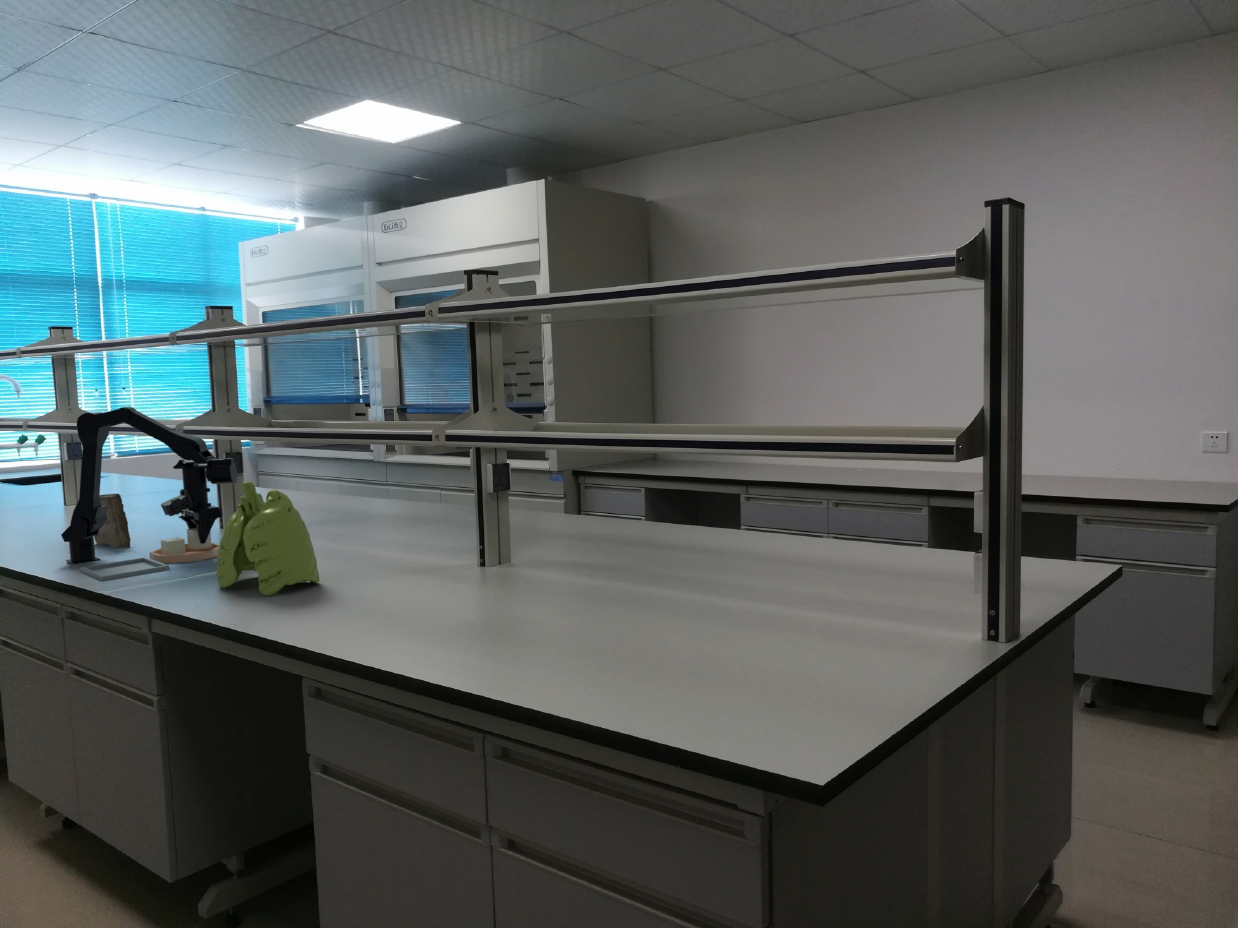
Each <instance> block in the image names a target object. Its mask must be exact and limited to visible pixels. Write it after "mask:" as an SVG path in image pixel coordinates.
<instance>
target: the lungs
mask: <svg viewBox="0 0 1238 928" xmlns="http://www.w3.org/2000/svg"><path fill="white" fill-rule="evenodd" d="M241 489H242V492H243V496H242V495H241V496H239V500H240V503H239V504H238V505H235V508H237V510H236V511H235V512H234V513H233V514H232V515H231V516H230V518H229V520H228V521H227V522H226V524H225V525H224V529H223V534H222V537H221V539H220V541H219V545H220V546H219V550H218V553H217V556H216V571H215V577H216V578H217V581H218V582H217V583H218V586H219V587H220V588H225V589H226V588H229V586H232V585H233V584H235V583H236V582H238V579H239V577H240V576H241V574H242V572H243V571H255V572H257V573H258V584H259V585H258V592H259V593H260V594H261V595H263V596H265V597H269V596H273V595H275V594H277V593H278V592H279V591H280V590H282V589H283V588H284V586H292V585H295V584H297V583H307V582H310V583H319V582H320V575H319V574H320V573H319V569H318V562H317V556H316V554H315V551H314V545H313V542H312V540H311V536H310V533H309V531H308V528H307V525H306V523H305V521H304V519H303V518H302V516H301V514H300V512H299V510H298V509H296V508H295V506H294V505H293V502H292V500H291V499H290V498H289V496H288V495H287V494H285V493H284V492H282V491H279V490H277V489H270V490H269V491H268V492H267V494H266V496H265V497H266V501H264V498H263V495H262V494H261V493H258V492H257V489H256V486H255V485H254V483H253V482H252V481H242V482H241Z"/></svg>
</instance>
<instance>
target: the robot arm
mask: <svg viewBox="0 0 1238 928" xmlns="http://www.w3.org/2000/svg"><path fill="white" fill-rule="evenodd" d="M121 424H126V425H128V426H130V427H132V428H135V429H136V430H138V431H140V432H141V433H143V434H145V435H148V436H149V437H151V438H153V439H155V440H157V441H159V442H161V443H163V444H164V445H166V446H167V447H168V448H169V449H170V450H171V451H172V452H173V453H174V454H176V455H177V456H179V458H181V459H179V460H178V461H177V463H175V465H173V467H172V468H173V469H174V470H180V469H181V471H182V472H181V474H182V485H183V486H182V487H183V488H181V489H180V490H179V495H177V496H173V497H172V498H171V499H170V498H169V499H168V500H166V501H163V502H162V503H161V504H160V507H161V509H162V511H163V512H164V516H169V517H174V516H176V515H179V516H178V519H180V520H182V521H184V522H185V524H186V526H187V529H192V528H197V530H198V535H199V539H200V543H201V544H203V543H205V542H206V540H207V538H208V535H209V533H211V531H212V528H213V526H214V524H215V521H216V520H218V519H220V518H223V517H224V515H223V509H222V508H220V507H219V506H215V505H212V503H211V502H209V496H208V495H209V494H208V493H210V492H211V488H210V487H208V484H207V481H208V482H210V483H211V485H223V484H225V485H227V484H236V482H237V480H238V469H237V467H236V464H235V462H234V458H233V457H228V458H218V459H217V458H216V457H215V456H214V454H212V452H211V451H210V450H209V449H208V446H207V443H206V441H205V440H204V439H202V438H201V437H198V436H194V435H191V434H189V433H184V432H180V431H177V430H174V429H172V428H171V427H168V426H167V425H165V424H163V423H161V422H159V421H157V420H156V419H153V418H151V417H150V416H148V415H146V414H144V413H142V412H140V411H138V410H137V409H135V408H134V407H132V406H121V407H119V408H116V409H113V410H109V411H104V412H102V411H93V412H92V411H91V412H85V413H82V414H80V415H79V416H78V417H77V420H76V430H77V431H76V432H77V436H78V438H79V441H80V444H81V461H80V463H81V466H80V477H79V478H80V479H79V480H80V481H79V497H78V501H77V503H76V505H75V507H74V508H73V511H72V515H71V519H70V525H69V526H68V527H67V528H66V529H65V530H64V531H63V532H62V533H61V535H60V536H61V538H62V540H63V541H64V543H68V546H69V557H70V559H66V560H65V562H66V563H68V564H70V565H78V564H83V563H91V562H96V561H101V558H100V557H96V548H95V538H94V536H97V535H98V532H99V529H100V528H102V527H103V525H104V523H105V521H107V516H106V513H107V509H108V506H102V504H101V502H100V499H99V496H100V495H101V477H102V466H103V465H102V463H103V449H104V448H103V447H104V445H105V443H106V441H107V439H108V437H109V433H110V430H111V427H114V426H118V425H121Z"/></svg>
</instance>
